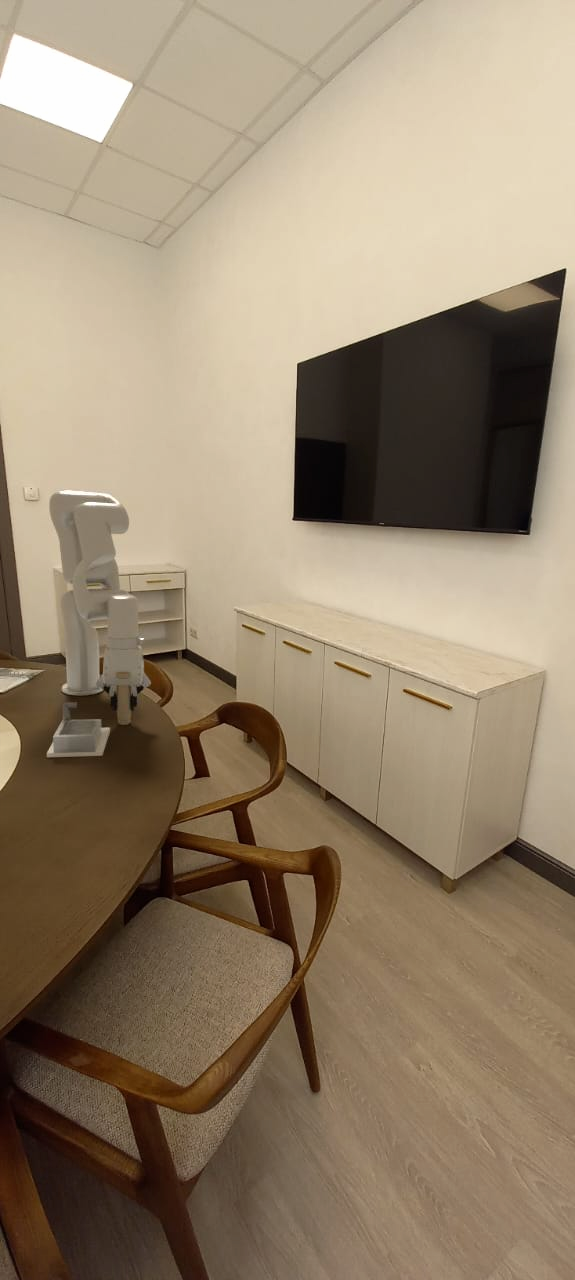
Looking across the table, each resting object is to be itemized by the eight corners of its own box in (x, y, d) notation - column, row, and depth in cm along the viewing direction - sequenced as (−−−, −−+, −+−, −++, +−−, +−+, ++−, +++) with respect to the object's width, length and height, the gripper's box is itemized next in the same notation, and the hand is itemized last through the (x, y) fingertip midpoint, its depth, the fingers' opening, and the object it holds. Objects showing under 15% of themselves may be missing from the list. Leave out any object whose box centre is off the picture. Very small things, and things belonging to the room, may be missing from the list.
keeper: (60, 732, 131) (59, 699, 129) (110, 731, 133) (109, 699, 131) (46, 757, 118) (45, 721, 116) (102, 755, 120) (101, 720, 118)
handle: (133, 718, 142) (132, 666, 139) (133, 727, 137) (133, 673, 133) (114, 719, 141) (114, 666, 138) (114, 728, 135) (113, 673, 132)
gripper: (157, 639, 139) (156, 703, 143) (91, 638, 135) (93, 704, 140) (155, 646, 132) (155, 713, 136) (86, 645, 128) (88, 714, 133)
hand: (124, 708), depth 138 cm, fingers closed on handle, 3 cm apart
